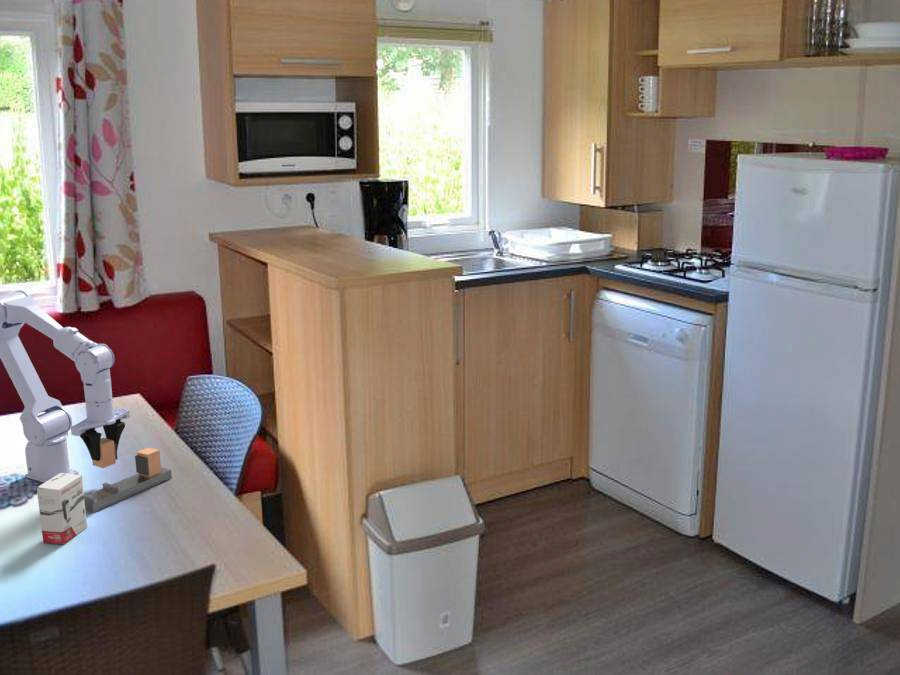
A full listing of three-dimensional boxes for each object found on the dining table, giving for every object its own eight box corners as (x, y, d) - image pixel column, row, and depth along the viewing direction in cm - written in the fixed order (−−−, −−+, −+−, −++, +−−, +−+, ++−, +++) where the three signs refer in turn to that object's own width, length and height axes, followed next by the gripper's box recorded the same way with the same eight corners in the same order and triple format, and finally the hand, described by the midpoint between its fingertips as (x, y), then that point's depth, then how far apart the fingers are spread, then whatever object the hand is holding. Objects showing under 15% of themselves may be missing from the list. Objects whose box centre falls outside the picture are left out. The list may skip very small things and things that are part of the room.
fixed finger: (136, 475, 216) (134, 452, 215) (150, 469, 219) (148, 447, 218) (147, 478, 214) (145, 455, 213) (161, 472, 218) (159, 450, 216)
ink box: (64, 545, 187) (57, 489, 184) (42, 543, 187) (35, 488, 185) (88, 526, 195) (83, 473, 192) (67, 524, 196) (61, 471, 193)
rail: (78, 507, 204) (76, 494, 203) (156, 473, 222) (155, 461, 222) (93, 512, 201) (92, 499, 201) (171, 477, 220) (170, 465, 219)
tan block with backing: (92, 465, 214) (90, 442, 213) (107, 459, 218) (105, 436, 216) (103, 468, 213) (101, 445, 211) (117, 462, 216) (115, 439, 215)
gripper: (83, 411, 203) (89, 470, 207) (136, 393, 216) (141, 449, 219) (62, 405, 207) (68, 464, 210) (115, 389, 219) (120, 444, 222)
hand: (104, 456), depth 215 cm, fingers closed on tan block with backing, 4 cm apart
